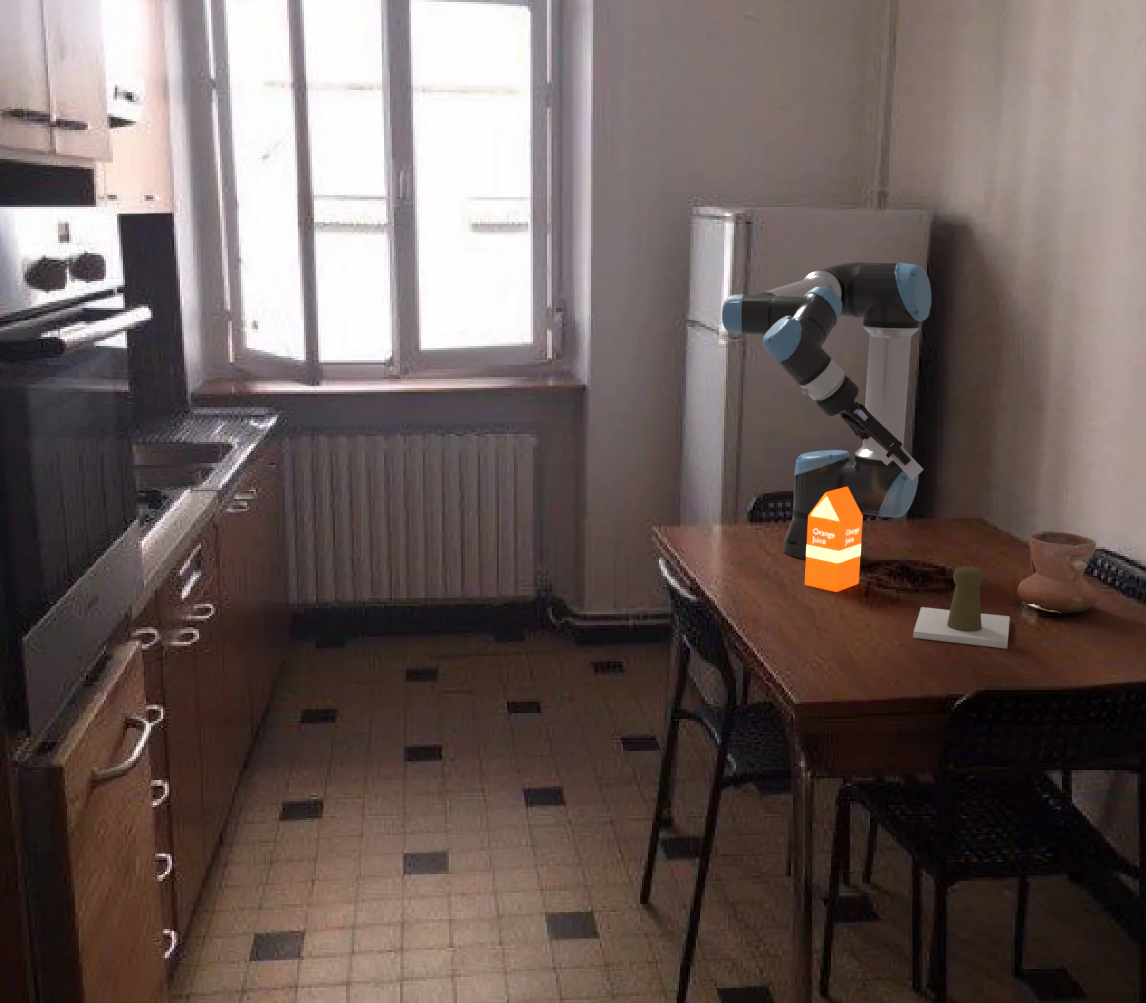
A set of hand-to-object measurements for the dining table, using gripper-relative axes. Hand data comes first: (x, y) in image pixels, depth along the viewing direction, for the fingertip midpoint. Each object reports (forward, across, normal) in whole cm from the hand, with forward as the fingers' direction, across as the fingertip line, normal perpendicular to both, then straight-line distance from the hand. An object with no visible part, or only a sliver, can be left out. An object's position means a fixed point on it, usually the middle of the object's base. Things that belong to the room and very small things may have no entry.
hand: (904, 467), depth 236 cm
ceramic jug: (+43, 0, +2) cm, 43 cm away
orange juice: (+15, -19, -25) cm, 35 cm away
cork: (+24, +14, -14) cm, 31 cm away
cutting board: (+25, +13, -14) cm, 32 cm away
